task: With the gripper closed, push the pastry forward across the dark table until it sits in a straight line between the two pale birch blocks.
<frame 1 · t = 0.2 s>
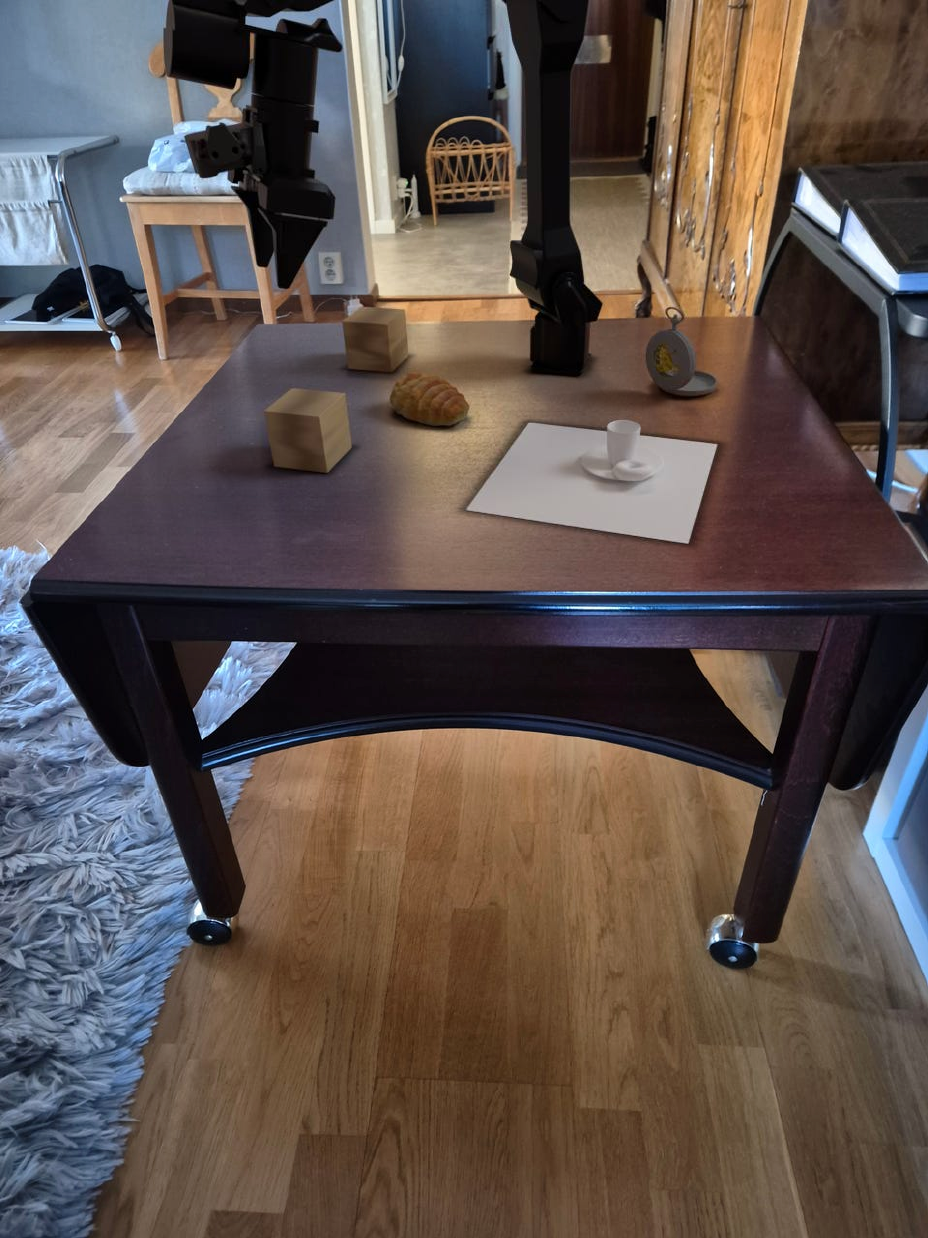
hand: (272, 277, 86), 15 cm above the table, tool pointing down, fingers open, 9 cm apart
block 1: (313, 457, 87), on the table
pocket watch: (678, 391, 98), on the table
teacup and saucer: (598, 477, 82), on the table
pastry: (431, 414, 95), on the table
block 2: (378, 362, 108), on the table
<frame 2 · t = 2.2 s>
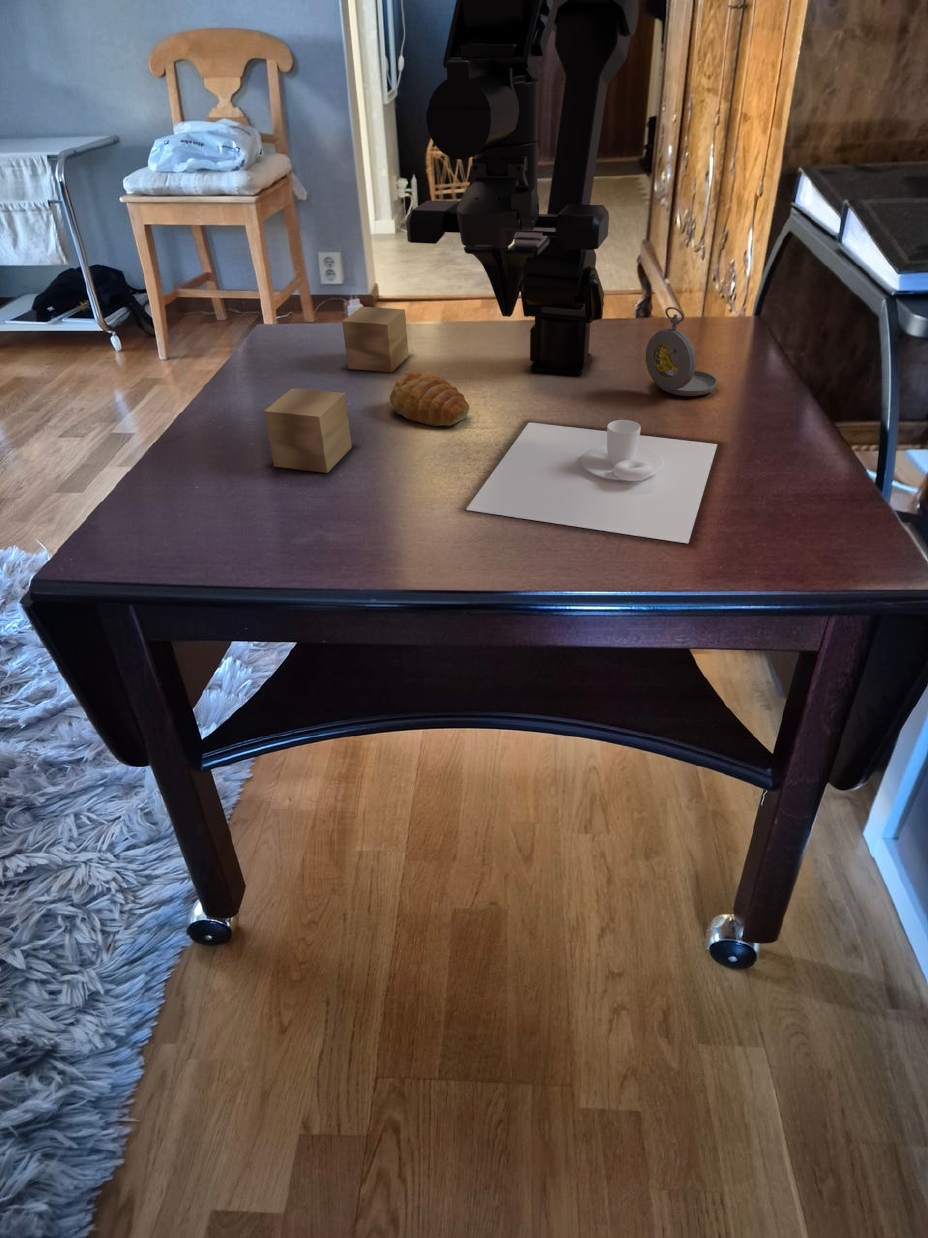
hand: (507, 315, 86), 11 cm above the table, tool pointing down, fingers closed
nothing on the table moved.
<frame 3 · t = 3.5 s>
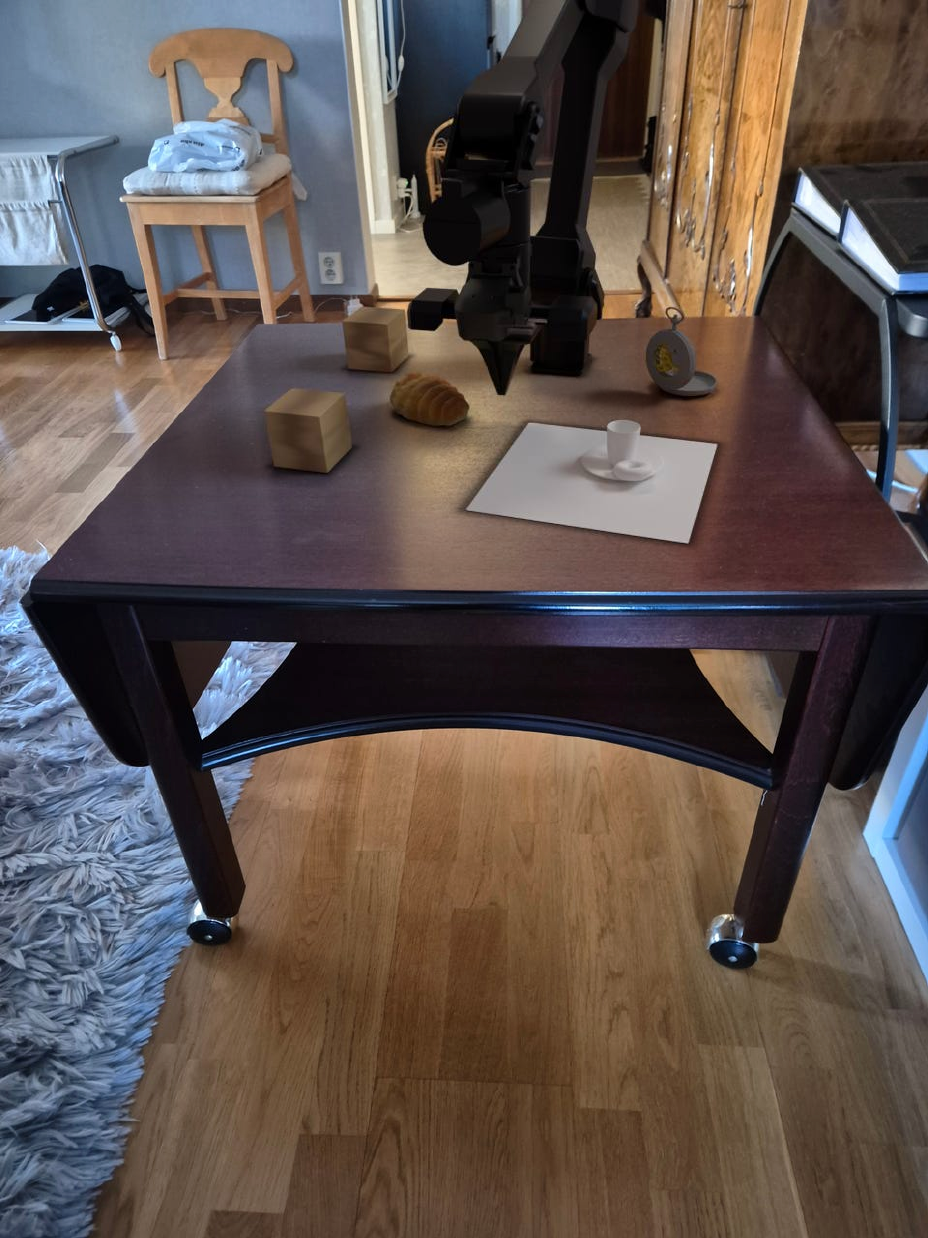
hand: (502, 394, 91), 3 cm above the table, tool pointing down, fingers closed
nothing on the table moved.
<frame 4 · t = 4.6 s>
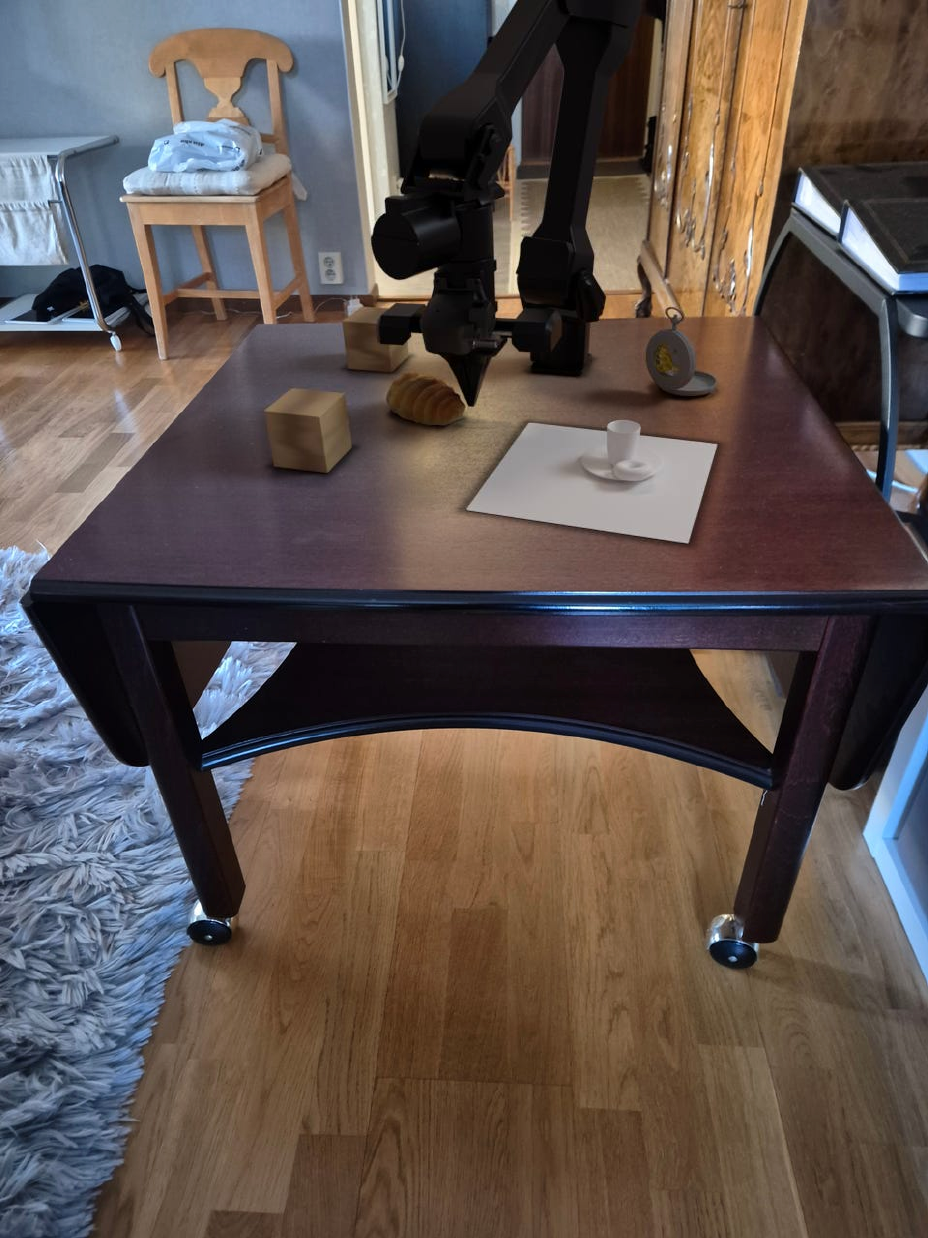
hand: (471, 405, 93), 1 cm above the table, tool pointing down, fingers closed
pastry: (427, 413, 95), on the table, touching gripper
everything else where it was.
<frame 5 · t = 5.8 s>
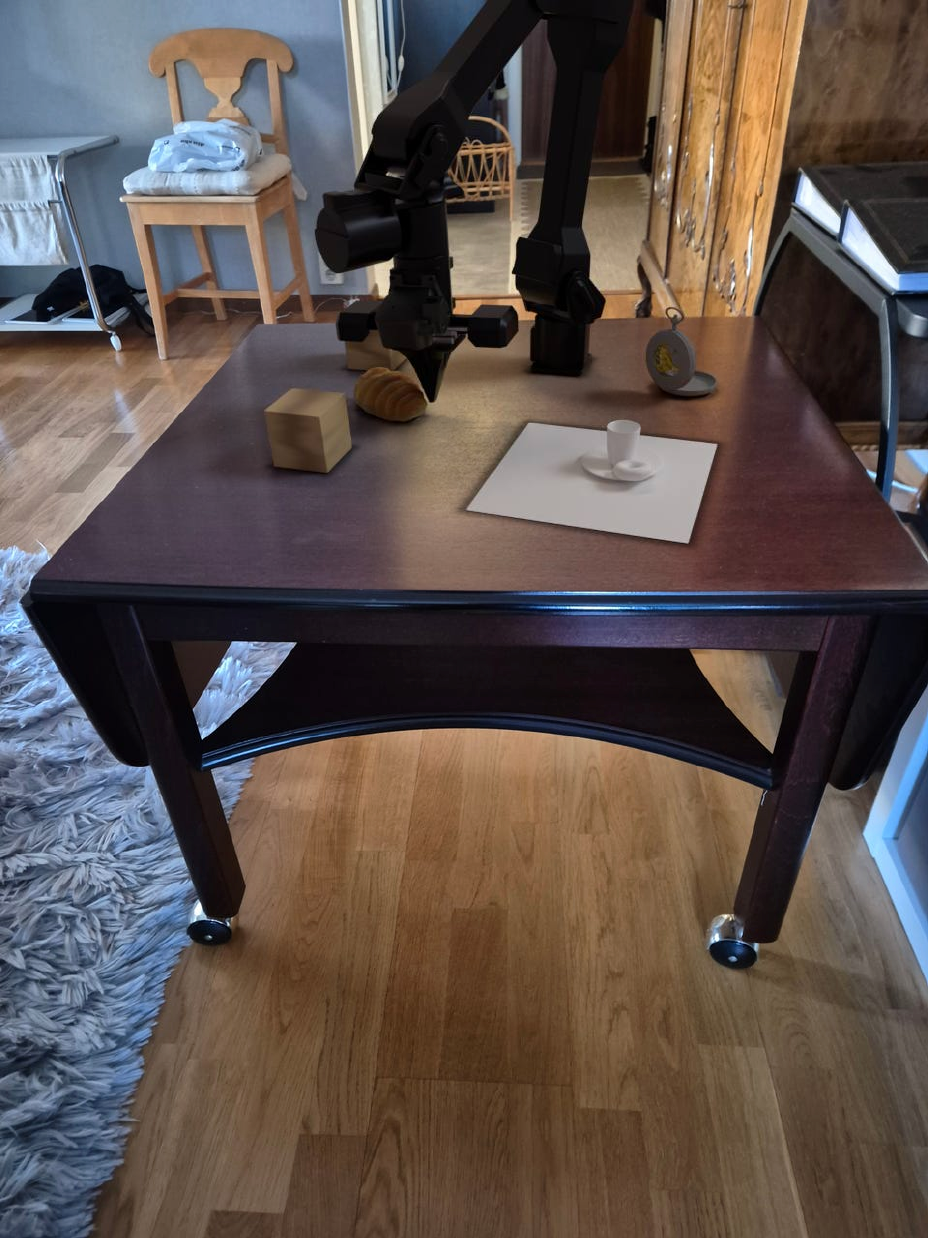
hand: (432, 401, 94), 1 cm above the table, tool pointing down, fingers closed
pastry: (393, 409, 97), on the table, touching gripper
everything else where it was.
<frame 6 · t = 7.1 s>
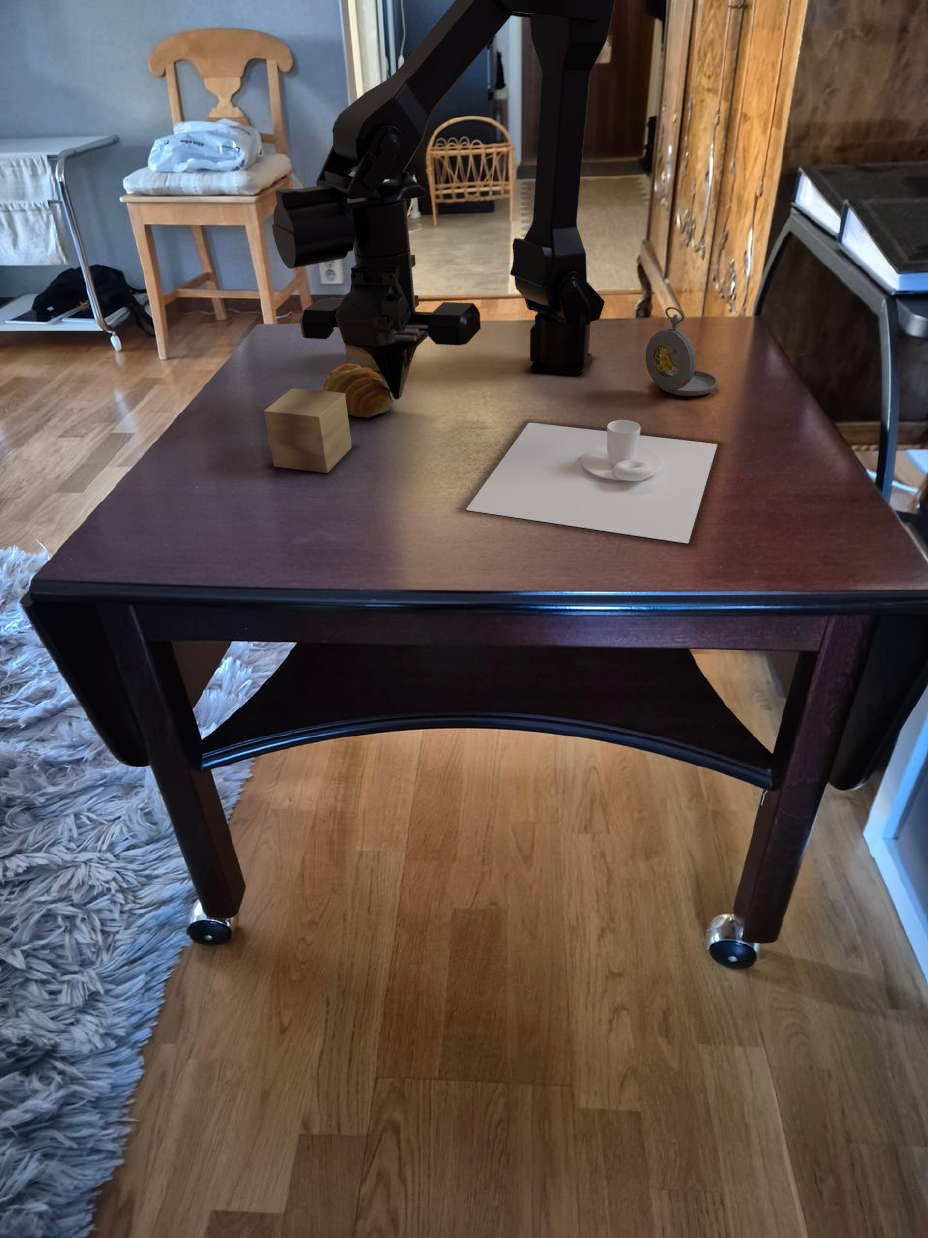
hand: (397, 398, 95), 1 cm above the table, tool pointing down, fingers closed
pastry: (361, 405, 98), on the table, touching gripper
everything else where it was.
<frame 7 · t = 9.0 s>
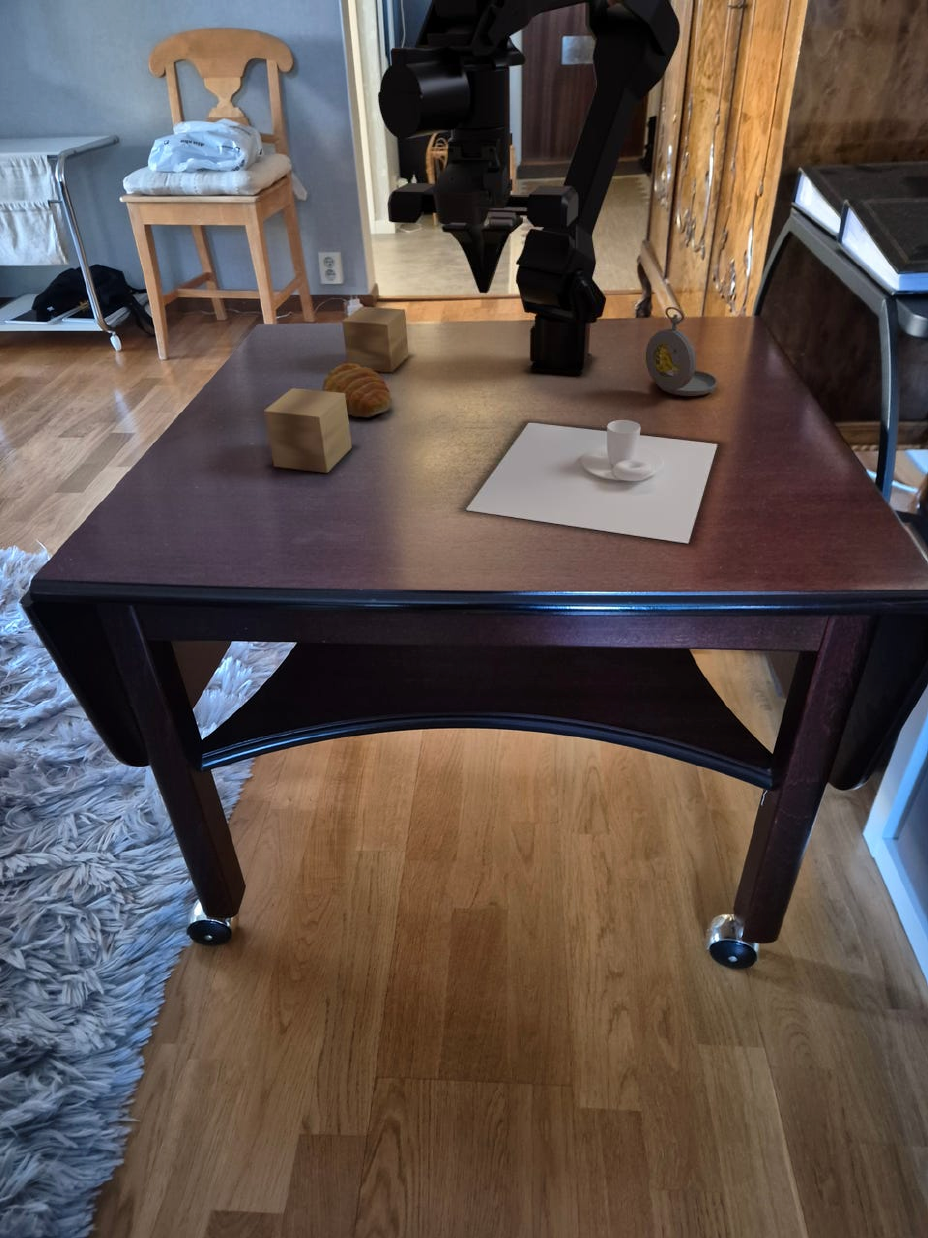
hand: (484, 292, 91), 12 cm above the table, tool pointing down, fingers closed
pastry: (361, 405, 98), on the table
everything else where it was.
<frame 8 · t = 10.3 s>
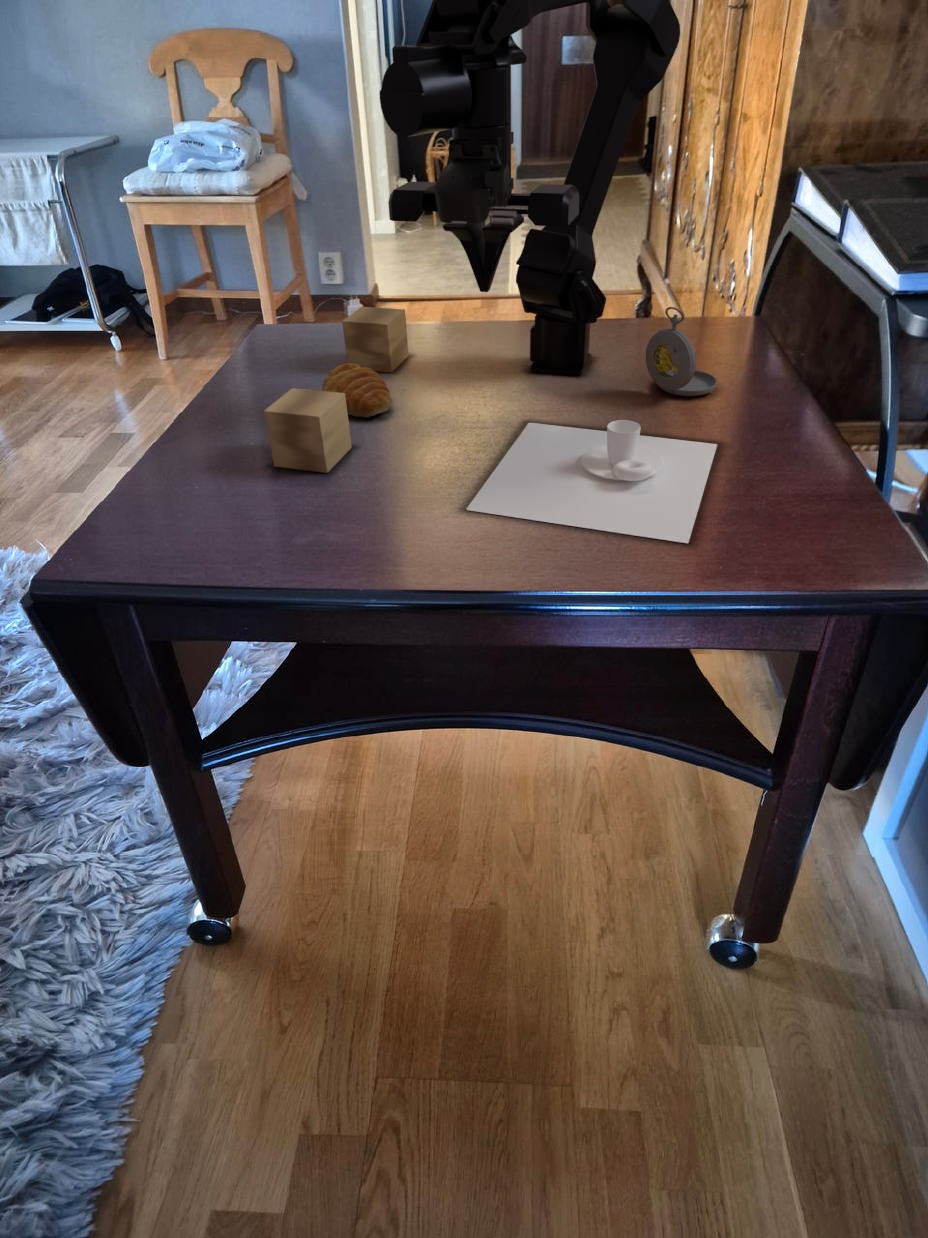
hand: (485, 290, 91), 12 cm above the table, tool pointing down, fingers closed
nothing on the table moved.
at the end: pastry 1.3 cm from the target spot on the table beside the block 1, on the table; pastry 1.3 cm from the target spot on the table beside the block 2, on the table; block 1 moved 0.0 cm from its start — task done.
